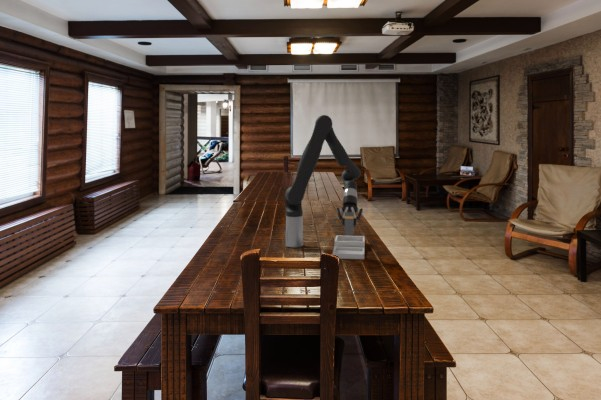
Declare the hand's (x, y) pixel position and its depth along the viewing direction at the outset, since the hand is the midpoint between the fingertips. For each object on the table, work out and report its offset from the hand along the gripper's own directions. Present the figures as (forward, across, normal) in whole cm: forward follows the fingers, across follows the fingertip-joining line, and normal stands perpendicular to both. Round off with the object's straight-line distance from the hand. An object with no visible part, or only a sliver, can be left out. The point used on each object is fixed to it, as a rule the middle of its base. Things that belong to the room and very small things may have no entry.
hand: (349, 225), depth 251 cm
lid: (+10, 0, +13) cm, 16 cm away
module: (+2, 0, +5) cm, 5 cm away
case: (-1, 0, +24) cm, 24 cm away
